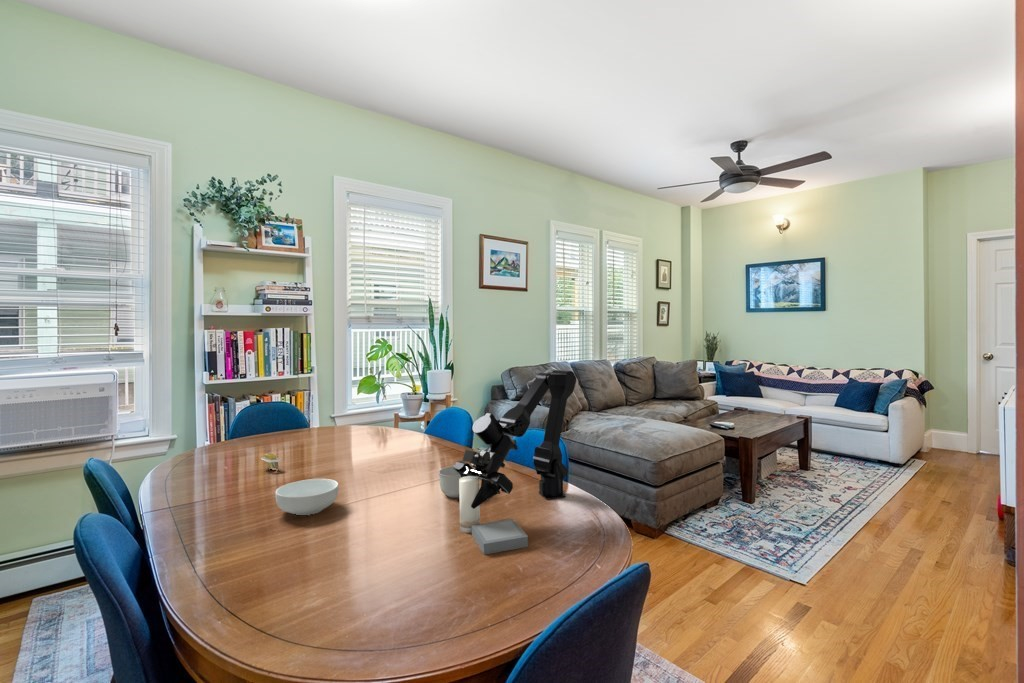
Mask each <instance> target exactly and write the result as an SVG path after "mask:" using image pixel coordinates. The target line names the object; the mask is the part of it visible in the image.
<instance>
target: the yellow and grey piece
mask: <svg viewBox="0 0 1024 683" xmlns="http://www.w3.org/2000/svg"><path fill="white" fill-rule="evenodd" d="M260 459H261V460H262V461H264V462H266V464H267V468H268V467H269V468H268V469H269V470H270V469H271V467H272V468H276V469H278V470H279V464H278V462H281V461H282V459H281V458H278V457H277V454H274V453H272V452H268V454H266V453H264V456H261V458H260Z"/></svg>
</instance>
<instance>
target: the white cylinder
mask: <svg viewBox="0 0 1024 683" xmlns="http://www.w3.org/2000/svg"><path fill="white" fill-rule="evenodd" d="M479 490H480V479H479V478H478V477H475V476H465V477H462V478H460V479H459V501H460V503H459V530H460V532H461V533H467V534H469V533H471V534H472V525H476V524H481V518H480V516H481V515H480V514H481V512H480V511H481V510H480V509H481V508H480V506H481V504H480V505H479V506H477V507H476V508H475V509H473V508H472V507H471V505H472V503H473V501H474V499H475V497H476V495H477V493H478V491H479Z"/></svg>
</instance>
